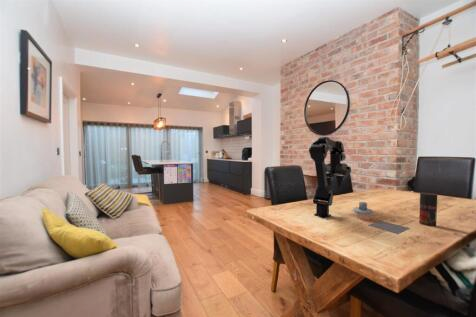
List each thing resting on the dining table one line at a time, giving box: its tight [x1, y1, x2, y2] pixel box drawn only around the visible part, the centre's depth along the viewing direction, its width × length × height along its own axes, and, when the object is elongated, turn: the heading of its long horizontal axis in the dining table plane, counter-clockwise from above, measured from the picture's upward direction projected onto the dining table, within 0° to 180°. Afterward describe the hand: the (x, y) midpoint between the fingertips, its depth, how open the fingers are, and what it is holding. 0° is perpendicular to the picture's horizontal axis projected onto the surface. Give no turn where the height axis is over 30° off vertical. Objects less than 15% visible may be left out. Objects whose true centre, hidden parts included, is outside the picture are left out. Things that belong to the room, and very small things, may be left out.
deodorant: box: [418, 192, 438, 227], centre depth 99 cm, size 6×6×15 cm
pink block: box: [354, 212, 372, 221], centre depth 109 cm, size 6×6×4 cm
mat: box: [367, 220, 411, 235], centre depth 96 cm, size 12×12×1 cm
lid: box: [353, 201, 374, 215], centre depth 109 cm, size 8×8×4 cm
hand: (334, 187), depth 129 cm, fingers open, 9 cm apart
